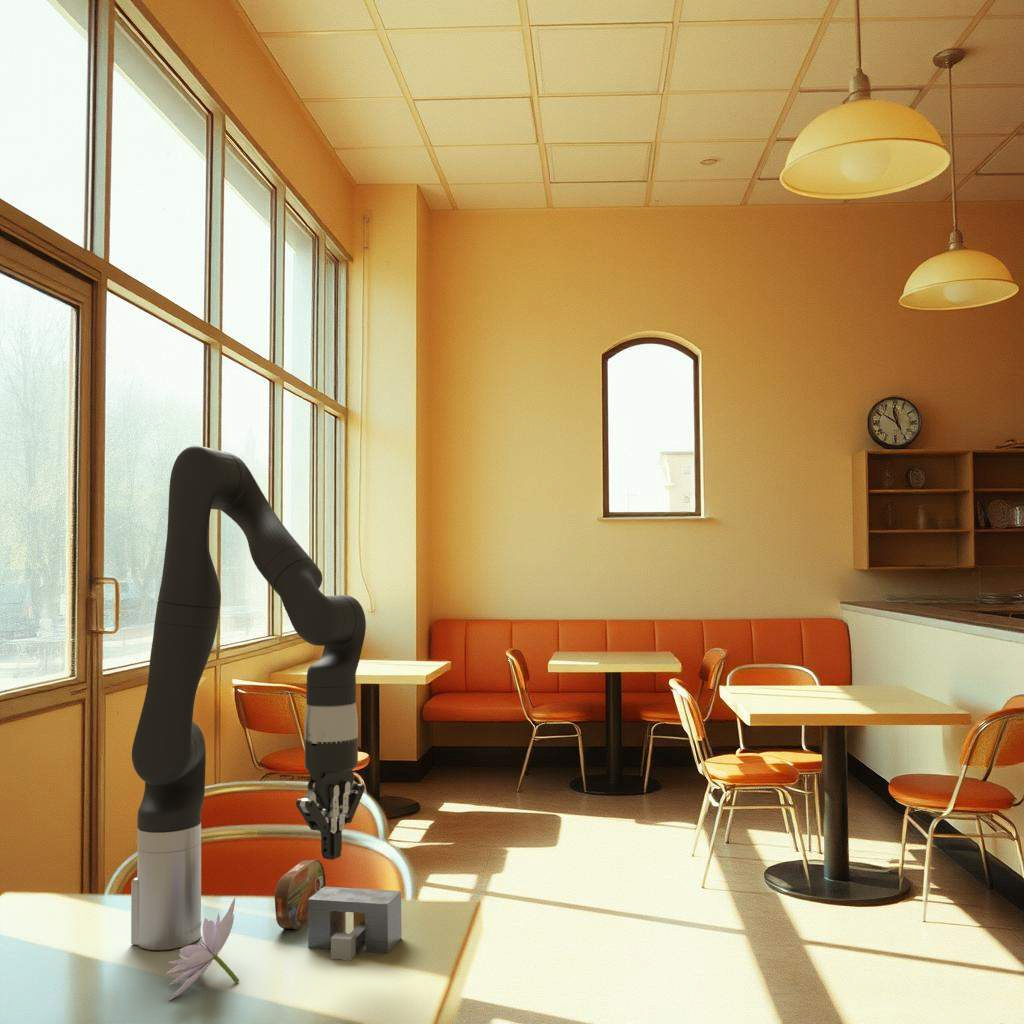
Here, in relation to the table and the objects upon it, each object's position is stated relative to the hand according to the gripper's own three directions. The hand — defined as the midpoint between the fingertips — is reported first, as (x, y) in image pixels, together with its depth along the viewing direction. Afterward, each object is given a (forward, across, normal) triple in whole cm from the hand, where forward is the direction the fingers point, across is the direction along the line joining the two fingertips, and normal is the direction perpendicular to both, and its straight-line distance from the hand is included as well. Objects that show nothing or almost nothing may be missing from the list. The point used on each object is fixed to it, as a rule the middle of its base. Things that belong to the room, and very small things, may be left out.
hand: (331, 857), depth 143 cm
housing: (+15, -8, -2) cm, 17 cm away
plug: (+15, -9, -2) cm, 18 cm away
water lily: (+15, +13, -12) cm, 23 cm away
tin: (+15, -12, -16) cm, 25 cm away
